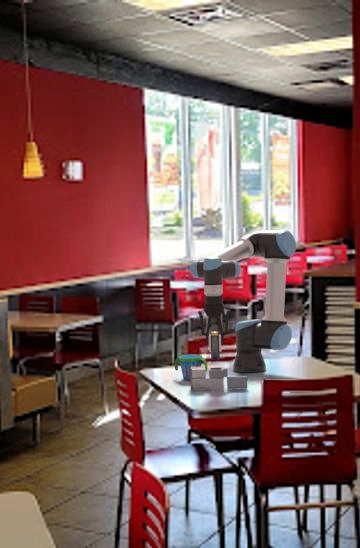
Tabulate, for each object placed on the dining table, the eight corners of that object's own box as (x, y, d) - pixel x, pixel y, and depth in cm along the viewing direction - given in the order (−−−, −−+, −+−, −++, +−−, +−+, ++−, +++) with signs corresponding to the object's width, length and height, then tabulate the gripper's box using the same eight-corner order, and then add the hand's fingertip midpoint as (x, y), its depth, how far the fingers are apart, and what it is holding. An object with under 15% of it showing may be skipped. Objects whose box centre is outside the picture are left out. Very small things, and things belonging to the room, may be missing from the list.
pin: (211, 358, 345) (210, 331, 344) (219, 358, 344) (219, 331, 344) (211, 360, 341) (210, 333, 340) (219, 359, 341) (218, 332, 340)
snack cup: (170, 379, 369) (169, 356, 368) (183, 375, 377) (182, 353, 377) (199, 382, 360) (198, 359, 359) (212, 378, 368) (211, 355, 368)
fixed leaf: (193, 388, 347) (192, 367, 347) (223, 388, 346) (223, 367, 346) (192, 391, 342) (191, 370, 341) (223, 391, 341) (222, 369, 340)
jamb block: (191, 387, 350) (190, 366, 349) (205, 387, 349) (205, 366, 349) (190, 389, 345) (190, 369, 344) (205, 389, 345) (204, 368, 344)
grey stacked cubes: (209, 390, 341) (208, 370, 340) (209, 387, 347) (209, 367, 346) (247, 389, 340) (246, 369, 339) (246, 386, 346) (246, 366, 345)
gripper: (192, 296, 338) (194, 353, 339) (233, 295, 336) (235, 352, 338) (193, 294, 345) (195, 350, 347) (233, 293, 344) (235, 349, 346)
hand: (215, 351), depth 342 cm, fingers closed on pin, 3 cm apart
